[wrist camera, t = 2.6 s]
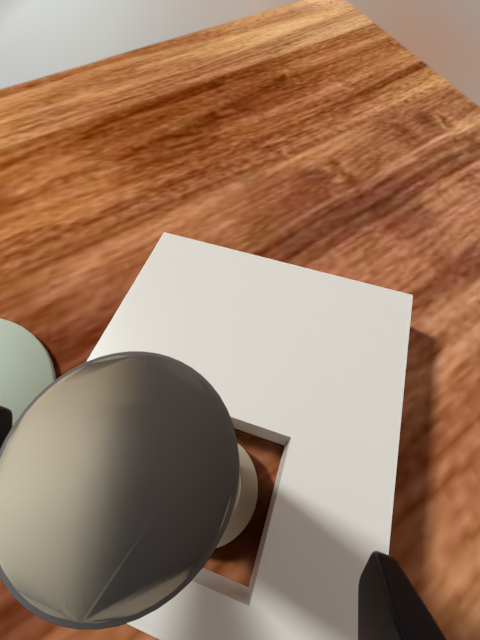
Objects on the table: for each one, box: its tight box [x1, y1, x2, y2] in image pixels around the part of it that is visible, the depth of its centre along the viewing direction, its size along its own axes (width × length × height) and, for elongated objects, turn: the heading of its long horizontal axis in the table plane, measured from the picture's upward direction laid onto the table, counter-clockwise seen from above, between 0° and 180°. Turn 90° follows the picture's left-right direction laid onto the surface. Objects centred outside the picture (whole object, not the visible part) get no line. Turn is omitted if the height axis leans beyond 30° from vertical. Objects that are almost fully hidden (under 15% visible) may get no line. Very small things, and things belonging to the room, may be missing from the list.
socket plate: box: [87, 232, 413, 640], centre depth 15 cm, size 16×14×2 cm
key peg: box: [0, 351, 258, 629], centre depth 9 cm, size 4×4×12 cm
